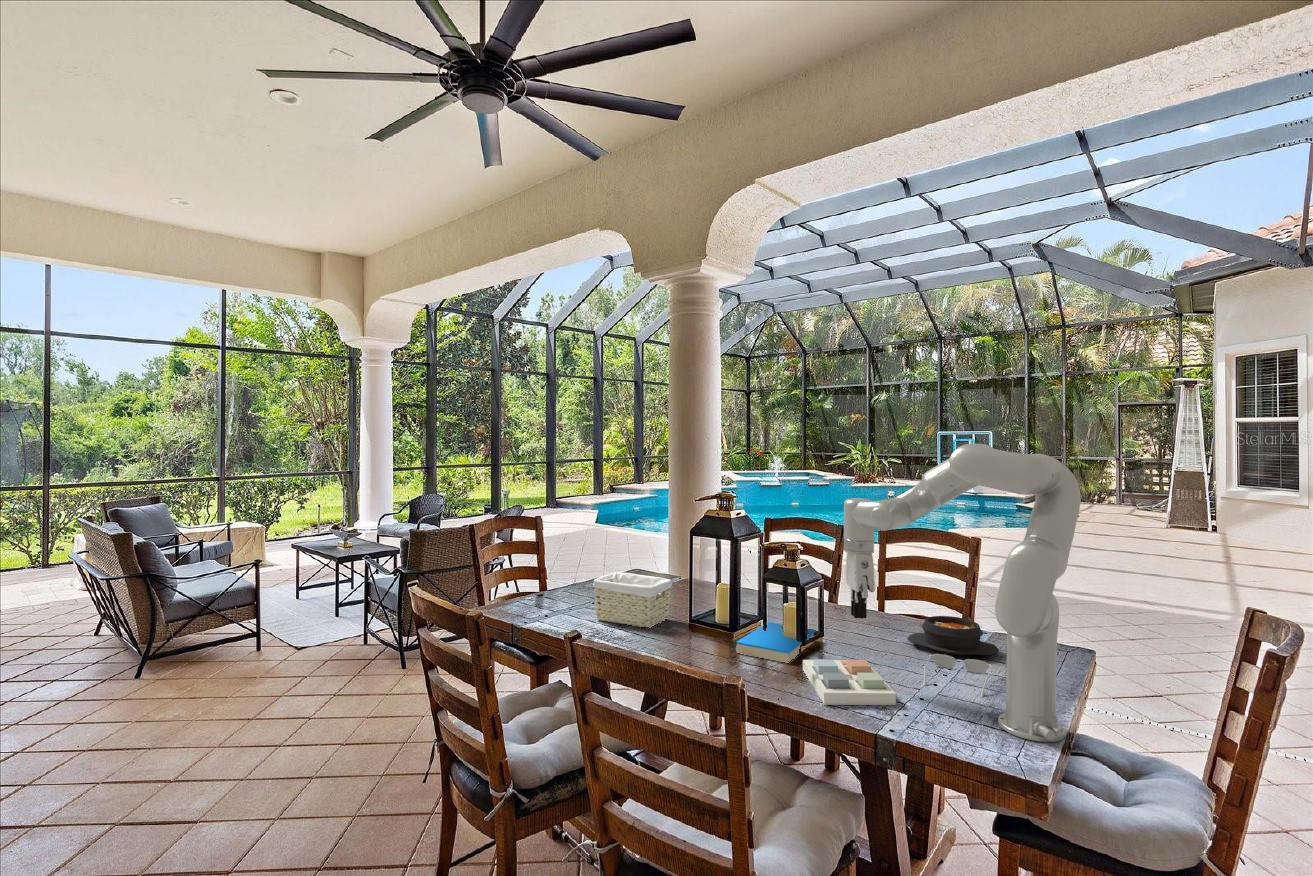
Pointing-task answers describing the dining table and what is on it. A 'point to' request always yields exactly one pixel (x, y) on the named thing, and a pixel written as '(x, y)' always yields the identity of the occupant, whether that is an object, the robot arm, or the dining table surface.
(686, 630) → the dining table surface
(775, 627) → the book
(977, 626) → the casserole
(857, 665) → the key terracotta
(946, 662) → the eyeglasses
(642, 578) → the storage basket
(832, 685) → the key slate
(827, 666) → the key blue
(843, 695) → the keypad
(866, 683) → the key sage
